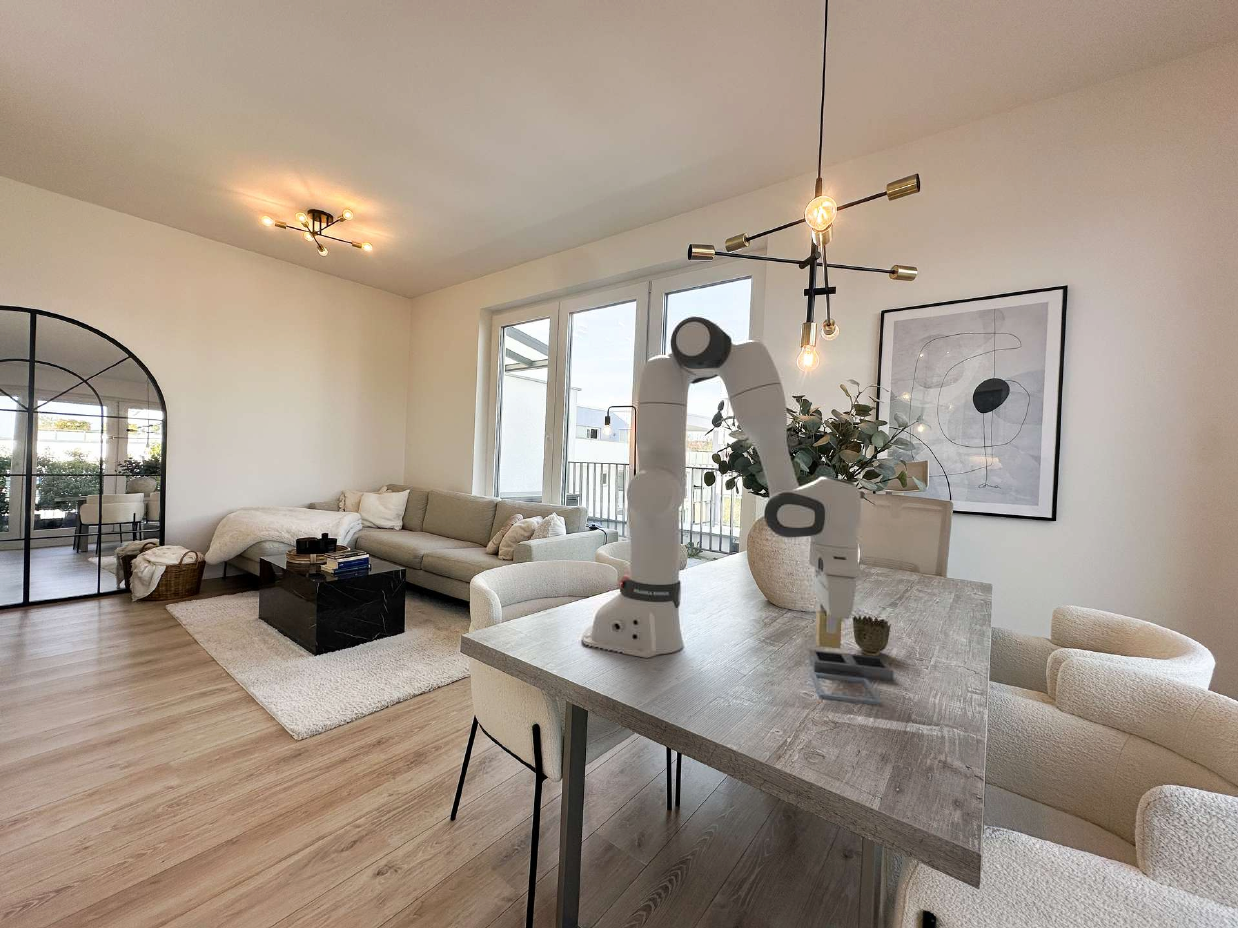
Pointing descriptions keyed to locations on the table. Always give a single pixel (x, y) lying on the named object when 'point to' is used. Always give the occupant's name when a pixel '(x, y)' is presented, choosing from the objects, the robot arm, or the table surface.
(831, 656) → the grey open box
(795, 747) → the table surface
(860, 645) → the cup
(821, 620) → the yellow upright block
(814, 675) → the blue-grey flat square frame
